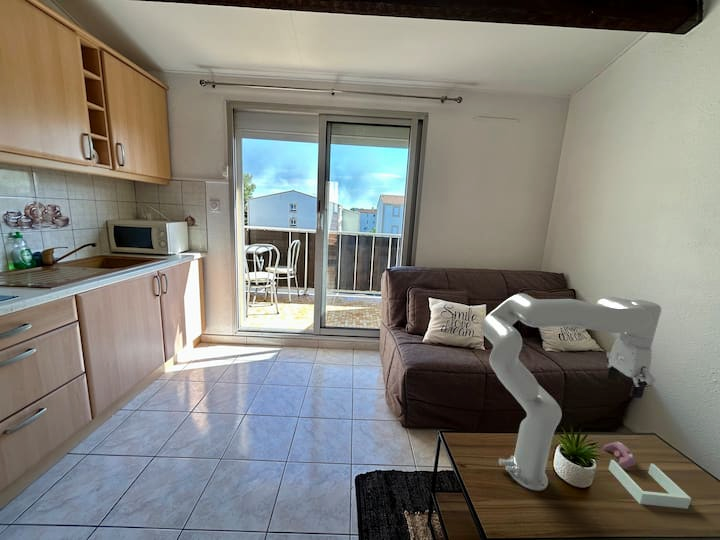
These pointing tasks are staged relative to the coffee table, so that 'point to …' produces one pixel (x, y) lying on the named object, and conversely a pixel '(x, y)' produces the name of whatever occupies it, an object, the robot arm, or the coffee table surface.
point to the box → (653, 498)
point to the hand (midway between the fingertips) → (622, 387)
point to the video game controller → (619, 451)
